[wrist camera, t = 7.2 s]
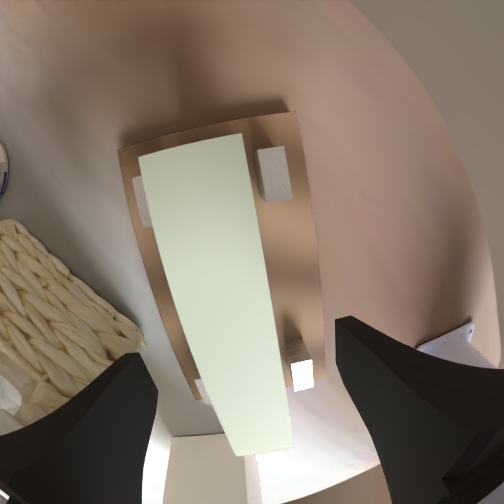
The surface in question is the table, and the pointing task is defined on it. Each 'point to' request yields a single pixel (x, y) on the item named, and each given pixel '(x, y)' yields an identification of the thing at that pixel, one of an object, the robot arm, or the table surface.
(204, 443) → the milk carton
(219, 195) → the door panel
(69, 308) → the storage basket
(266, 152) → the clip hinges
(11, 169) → the table surface
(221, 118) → the table surface
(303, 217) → the mount plate
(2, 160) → the energy drink
